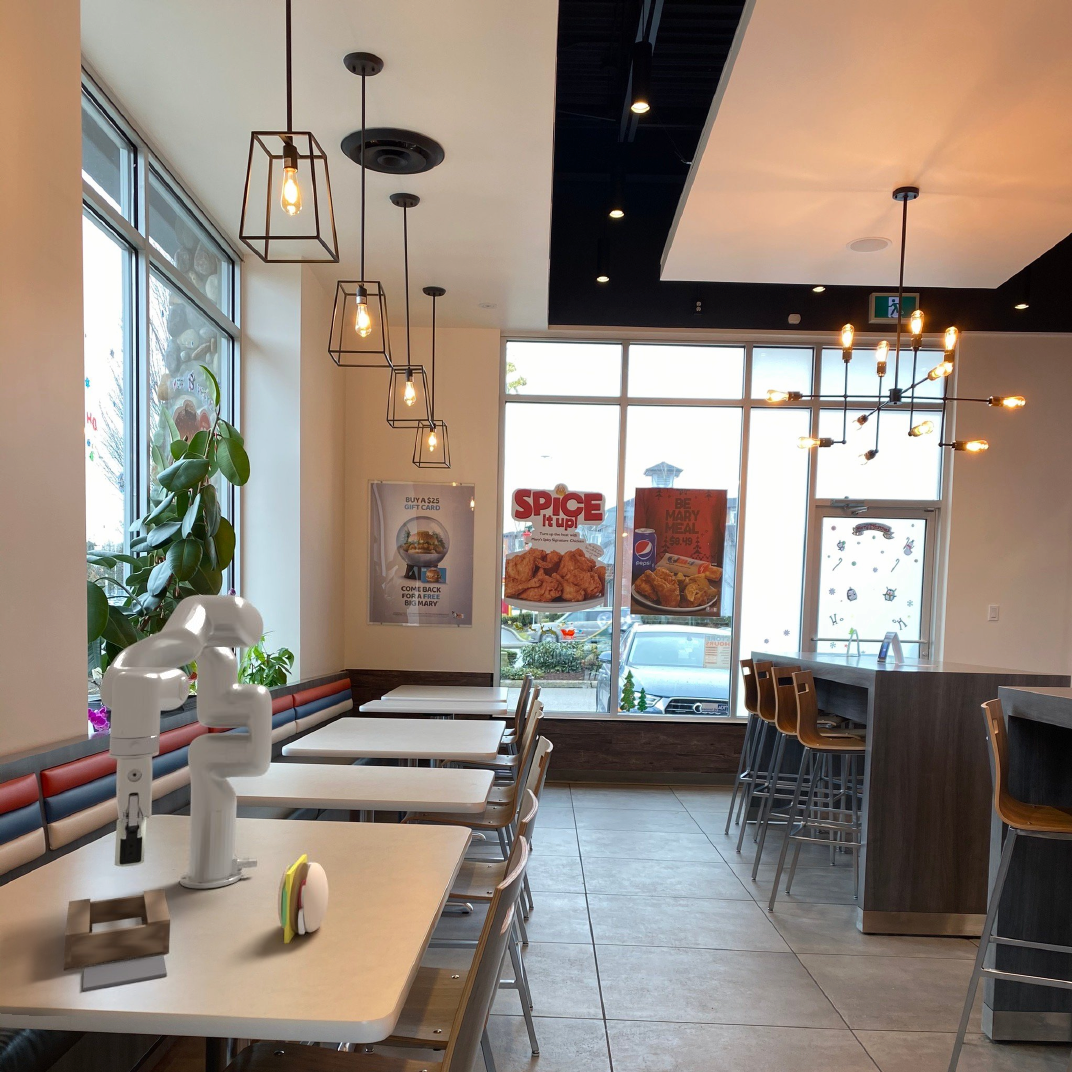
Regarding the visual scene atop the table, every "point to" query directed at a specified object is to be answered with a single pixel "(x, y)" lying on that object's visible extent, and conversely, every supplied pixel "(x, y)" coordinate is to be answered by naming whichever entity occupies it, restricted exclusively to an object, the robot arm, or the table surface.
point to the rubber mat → (124, 972)
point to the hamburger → (302, 898)
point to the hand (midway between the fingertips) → (129, 857)
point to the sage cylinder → (119, 836)
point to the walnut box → (116, 929)
